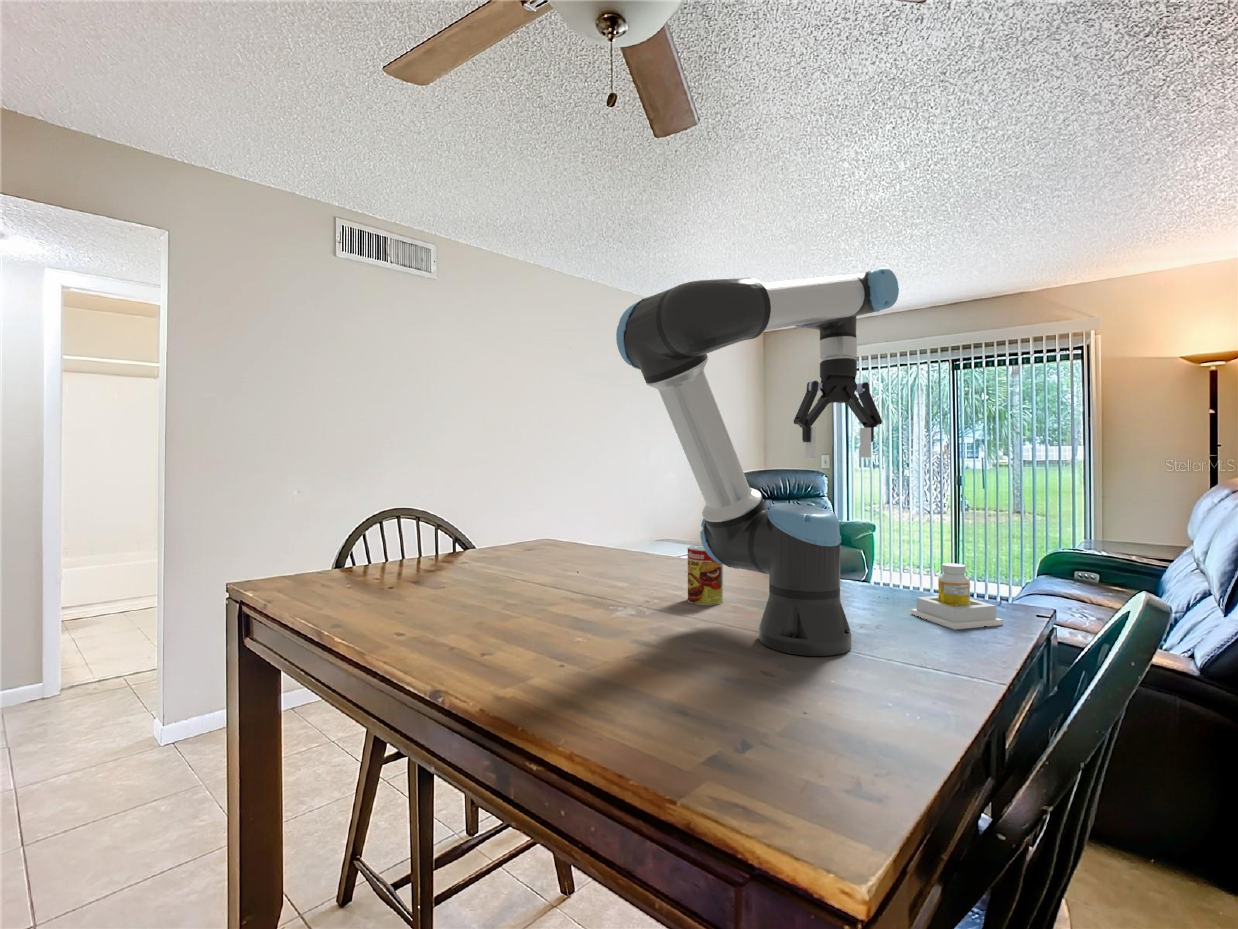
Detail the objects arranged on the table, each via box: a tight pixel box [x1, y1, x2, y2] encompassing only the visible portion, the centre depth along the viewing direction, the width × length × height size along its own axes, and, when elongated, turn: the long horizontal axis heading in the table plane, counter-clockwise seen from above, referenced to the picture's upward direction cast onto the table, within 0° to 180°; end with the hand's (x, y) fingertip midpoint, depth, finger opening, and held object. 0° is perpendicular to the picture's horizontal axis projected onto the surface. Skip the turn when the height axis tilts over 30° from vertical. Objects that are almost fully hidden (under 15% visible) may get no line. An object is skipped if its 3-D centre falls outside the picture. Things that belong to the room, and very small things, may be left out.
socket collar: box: [910, 595, 1004, 630], centre depth 113 cm, size 11×11×4 cm
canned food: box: [687, 544, 724, 606], centre depth 130 cm, size 8×8×12 cm
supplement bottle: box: [937, 562, 971, 607], centre depth 114 cm, size 5×5×10 cm
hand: (838, 457), depth 126 cm, fingers open, 13 cm apart
